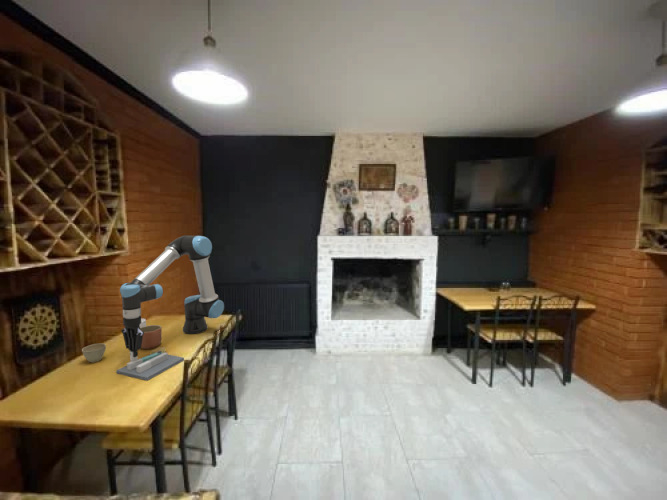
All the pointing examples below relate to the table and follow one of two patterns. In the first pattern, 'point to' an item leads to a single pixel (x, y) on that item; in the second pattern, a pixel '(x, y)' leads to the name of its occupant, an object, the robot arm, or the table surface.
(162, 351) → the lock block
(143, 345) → the planter
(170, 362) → the board
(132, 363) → the tong arm
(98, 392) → the table surface
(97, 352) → the grey bowl
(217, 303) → the robot arm
